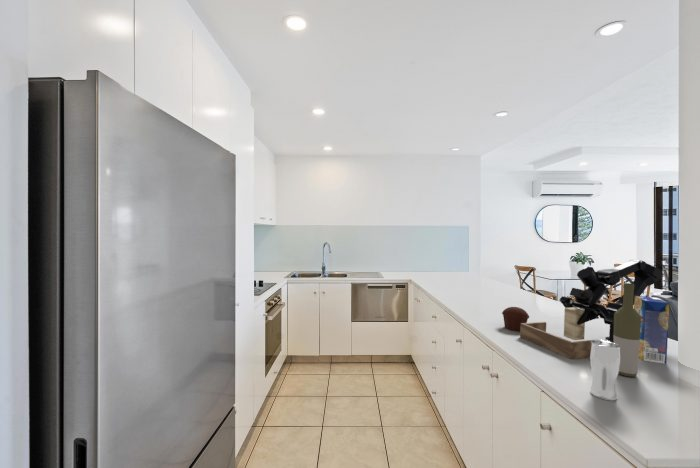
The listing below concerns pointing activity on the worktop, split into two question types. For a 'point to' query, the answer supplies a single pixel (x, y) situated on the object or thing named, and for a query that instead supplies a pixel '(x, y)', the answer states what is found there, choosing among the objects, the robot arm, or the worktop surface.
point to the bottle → (627, 333)
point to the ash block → (573, 324)
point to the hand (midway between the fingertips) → (571, 322)
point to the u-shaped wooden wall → (554, 341)
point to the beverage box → (653, 328)
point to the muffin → (514, 318)
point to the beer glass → (604, 368)
